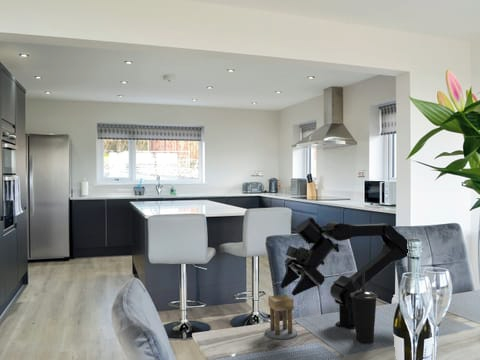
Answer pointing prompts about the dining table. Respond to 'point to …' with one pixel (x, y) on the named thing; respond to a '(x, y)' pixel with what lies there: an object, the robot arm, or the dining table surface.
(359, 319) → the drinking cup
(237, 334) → the dining table surface
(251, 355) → the dining table surface
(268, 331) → the disc
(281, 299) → the wooden stool
